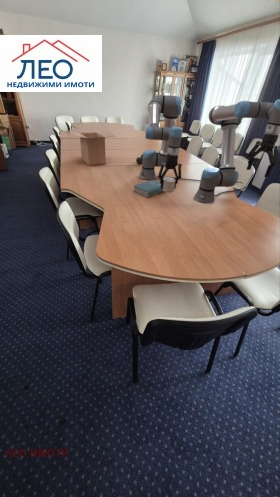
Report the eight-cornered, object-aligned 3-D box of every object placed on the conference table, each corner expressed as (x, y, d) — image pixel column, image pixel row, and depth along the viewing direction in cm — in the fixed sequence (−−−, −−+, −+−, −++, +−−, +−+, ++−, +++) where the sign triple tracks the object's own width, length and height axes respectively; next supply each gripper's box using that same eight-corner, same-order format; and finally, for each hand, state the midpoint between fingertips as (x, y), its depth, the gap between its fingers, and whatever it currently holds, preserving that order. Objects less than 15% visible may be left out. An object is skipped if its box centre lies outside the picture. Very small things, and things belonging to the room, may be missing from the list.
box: (116, 165, 229) (116, 136, 213) (83, 168, 214) (80, 137, 198) (102, 154, 259) (101, 128, 243) (71, 156, 244) (68, 129, 228)
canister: (167, 186, 161) (169, 176, 156) (176, 190, 156) (178, 180, 151) (159, 189, 156) (160, 178, 151) (168, 193, 151) (169, 182, 146)
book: (152, 185, 190) (153, 179, 187) (167, 191, 181) (167, 185, 178) (133, 191, 176) (133, 185, 173) (147, 198, 167) (148, 191, 164)
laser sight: (155, 166, 234) (156, 156, 228) (135, 164, 237) (135, 154, 231) (157, 164, 242) (158, 154, 236) (137, 161, 245) (137, 152, 239)
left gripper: (158, 155, 136) (154, 190, 150) (190, 156, 141) (184, 189, 154) (155, 152, 142) (151, 186, 156) (186, 153, 146) (180, 185, 160)
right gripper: (249, 129, 127) (237, 167, 140) (287, 138, 109) (269, 180, 122) (258, 129, 130) (245, 166, 143) (297, 138, 112) (279, 179, 125)
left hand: (168, 188), depth 155 cm, fingers closed on canister, 9 cm apart
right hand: (256, 173), depth 132 cm, fingers open, 13 cm apart
